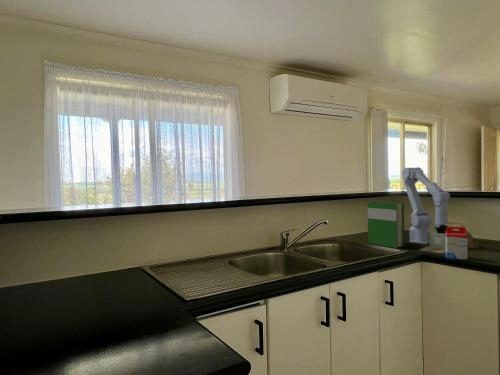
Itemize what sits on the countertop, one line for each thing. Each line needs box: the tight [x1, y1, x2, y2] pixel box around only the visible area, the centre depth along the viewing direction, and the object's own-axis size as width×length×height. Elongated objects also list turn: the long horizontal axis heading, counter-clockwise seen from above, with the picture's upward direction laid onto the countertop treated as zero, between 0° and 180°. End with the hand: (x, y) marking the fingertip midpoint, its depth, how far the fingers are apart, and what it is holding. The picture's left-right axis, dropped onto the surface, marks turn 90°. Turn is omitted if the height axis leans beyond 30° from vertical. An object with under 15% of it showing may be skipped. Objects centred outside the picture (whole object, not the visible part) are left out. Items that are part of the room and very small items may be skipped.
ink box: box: [445, 226, 468, 260], centre depth 167 cm, size 8×5×15 cm, turn 68°
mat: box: [418, 245, 446, 254], centre depth 185 cm, size 13×12×1 cm
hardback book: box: [367, 201, 405, 249], centre depth 198 cm, size 18×7×24 cm, turn 37°
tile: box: [428, 231, 446, 250], centre depth 187 cm, size 8×2×8 cm, turn 46°
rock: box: [465, 229, 479, 249], centre depth 189 cm, size 11×9×10 cm
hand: (441, 238), depth 191 cm, fingers closed
